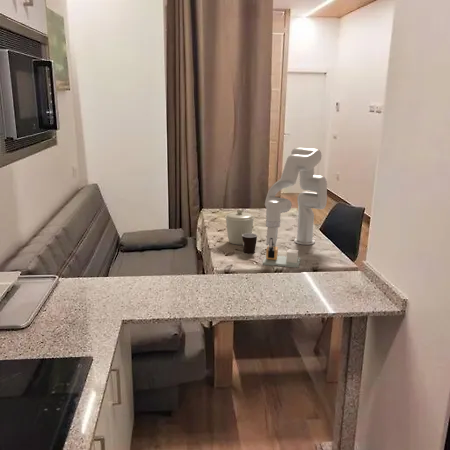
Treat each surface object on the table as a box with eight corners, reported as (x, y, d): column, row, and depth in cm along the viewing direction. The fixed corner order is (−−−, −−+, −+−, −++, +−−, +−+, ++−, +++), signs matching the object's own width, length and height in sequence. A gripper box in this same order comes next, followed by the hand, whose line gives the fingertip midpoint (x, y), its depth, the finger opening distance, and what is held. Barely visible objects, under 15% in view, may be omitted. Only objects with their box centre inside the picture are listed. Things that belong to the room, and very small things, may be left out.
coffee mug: (255, 254, 253) (256, 237, 251) (240, 253, 255) (240, 236, 252) (258, 248, 264) (258, 232, 262) (243, 247, 266) (244, 231, 263)
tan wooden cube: (267, 255, 246) (267, 246, 245) (277, 256, 245) (277, 246, 244) (266, 259, 241) (266, 249, 240) (276, 259, 240) (276, 250, 238)
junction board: (265, 256, 250) (266, 245, 249) (300, 259, 246) (300, 248, 245) (262, 264, 238) (262, 252, 236) (298, 267, 234) (299, 255, 232)
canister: (220, 244, 271) (220, 210, 265) (230, 236, 287) (231, 204, 282) (248, 248, 264) (249, 213, 259) (257, 240, 281) (258, 207, 275)
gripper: (268, 219, 247) (267, 250, 252) (263, 227, 231) (262, 260, 235) (281, 220, 245) (280, 251, 250) (278, 228, 229) (276, 261, 234)
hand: (271, 255), depth 243 cm, fingers closed on tan wooden cube, 5 cm apart
